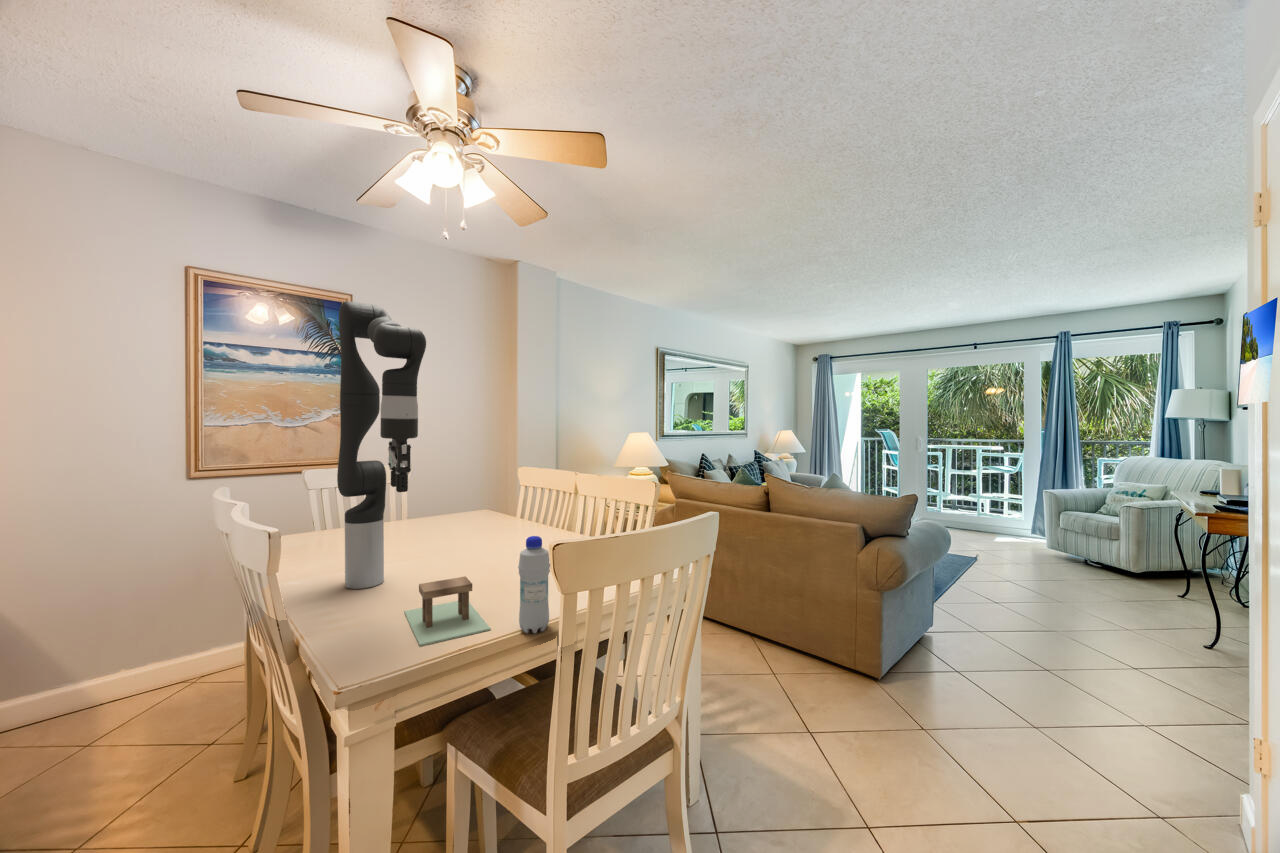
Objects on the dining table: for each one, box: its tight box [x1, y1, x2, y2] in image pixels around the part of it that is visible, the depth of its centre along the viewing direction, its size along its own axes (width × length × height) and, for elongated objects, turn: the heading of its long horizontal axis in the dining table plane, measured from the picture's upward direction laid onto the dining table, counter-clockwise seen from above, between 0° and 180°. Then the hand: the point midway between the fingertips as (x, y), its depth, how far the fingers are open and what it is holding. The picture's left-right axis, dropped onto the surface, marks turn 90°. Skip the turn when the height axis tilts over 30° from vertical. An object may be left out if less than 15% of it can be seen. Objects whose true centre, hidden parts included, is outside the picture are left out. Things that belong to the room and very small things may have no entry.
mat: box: [403, 600, 491, 647], centre depth 110 cm, size 20×14×1 cm
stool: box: [418, 575, 473, 628], centre depth 110 cm, size 10×6×8 cm, turn 123°
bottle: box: [517, 535, 551, 634], centre depth 106 cm, size 7×7×20 cm
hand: (398, 489), depth 111 cm, fingers open, 8 cm apart
